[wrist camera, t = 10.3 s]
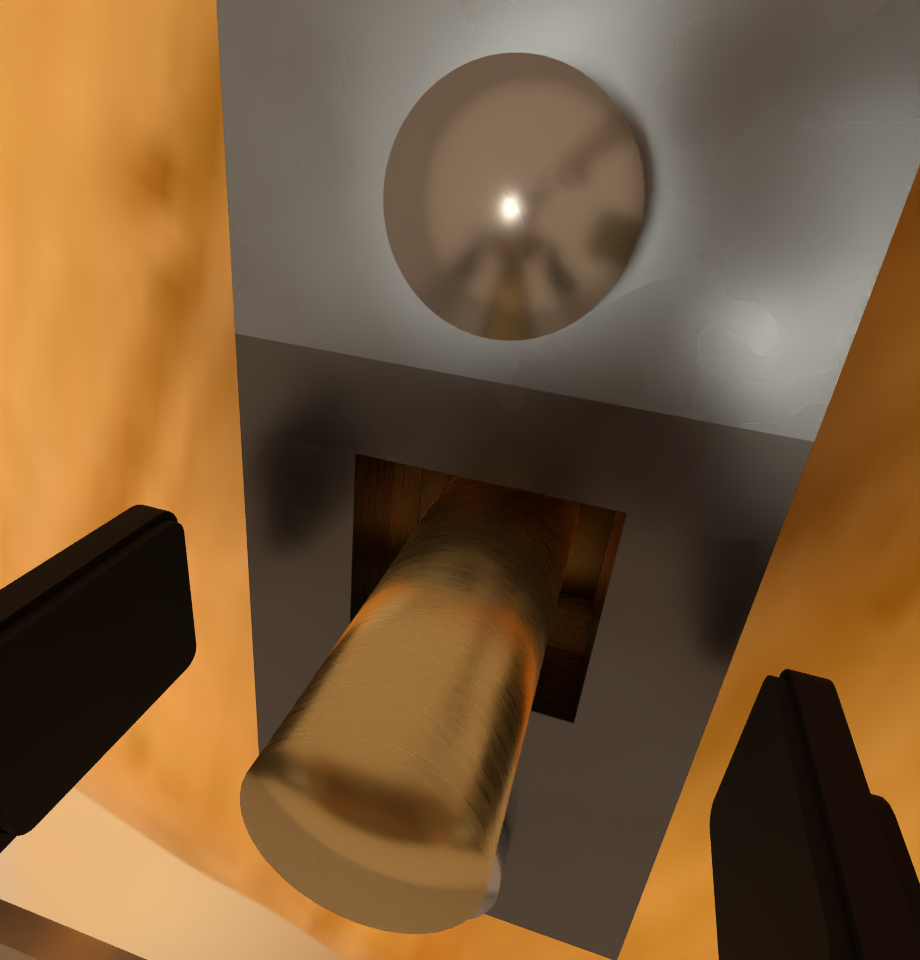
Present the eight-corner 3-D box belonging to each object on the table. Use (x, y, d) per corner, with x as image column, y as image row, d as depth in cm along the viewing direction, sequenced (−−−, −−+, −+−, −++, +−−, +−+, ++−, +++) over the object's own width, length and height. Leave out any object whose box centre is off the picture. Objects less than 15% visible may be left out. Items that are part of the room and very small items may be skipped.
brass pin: (461, 425, 15) (233, 710, 7) (592, 452, 14) (504, 797, 6) (448, 537, 16) (245, 881, 8) (568, 565, 16) (471, 965, 8)
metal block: (344, 18, 12) (162, -69, 8) (873, 57, 10) (1029, -26, 6) (332, 720, 20) (241, 871, 16) (625, 811, 18) (613, 1009, 14)
